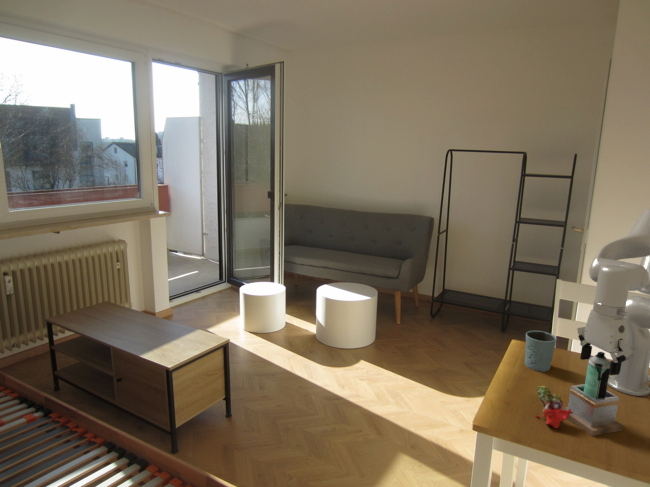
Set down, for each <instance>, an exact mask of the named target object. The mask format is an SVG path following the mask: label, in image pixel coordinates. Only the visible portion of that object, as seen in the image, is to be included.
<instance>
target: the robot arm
mask: <svg viewBox="0 0 650 487" xmlns="http://www.w3.org/2000/svg"><path fill="white" fill-rule="evenodd" d="M635 258H636V259H637V258H639V259H640V258H641V261H640V264H638V263H632V262H626V261H623V260H627V259H635ZM588 273H589V274H588V275H589V279H590V280H591V281H593V282H594V283H596V288H595V294H594V300H593V306H592V307H593V308H592V309H591V310H590V313H589V315H588V317H587V321H586V324H585V326H583V327H582V326H581V327H578V328H576V330H577V335H578V336H577V337H578V339H579V341H580V344H579V346H580V347H581V351H580V352H581V353H580V357H579V359H580V360H582V361H585V360H586V361H587V360H590V359H589V358H590V357H592V350H593V347H596V348H598V349H599V350H602V351H603V352H607V353H609V355H610V357H611V359H612V360H611V361H610V362H611V363H610V368H609V379H608V385H607V386H609V387H610V388H612V389H614V390H616V391H618V392H620V393H623V394H627V395H631V396H637V397H645V396H648V395H650V386H649V385H648V383H649V382H650V374H649V369H650V298H649V297H645V296H639V295H638V296H637V295H631V296H628V295H629V292H630V291H631V292H635V291H638V292H639V293H640V294H645V295H649V296H650V208H647V209H646V210H644V211H643V212H642V213H641V214H640V215H639V217H638V219H636V222H635V223H634V225H633V227H632V228H631V230H630V232H629V233H628V234H627V236H623V237H620V238H618V239H615V240H613V241H610V242H609V243H606V244H605V245H603V246H602V247H601V248H600V249H599V250H598V252H597V253H596V255H595V257H594V258H593V259H592V261H591V263H590V266H589V269H588Z"/></svg>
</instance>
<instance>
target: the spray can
mask: <svg viewBox="0 0 650 487" xmlns="http://www.w3.org/2000/svg"><path fill="white" fill-rule="evenodd" d="M605 355H606V353H605V351H598V352H597V354H595V355H594V356H591V357H590V358H589V359H588V363H587V368H586V369H587V370H586V374H585V381H584V384H585V386H584V392H585V393H586V394H588V395H589V396H591V397H593V398H594V399H600V398H605V396H606V390H607V389H608V386H609V385H608V379H609V376H610V375H609V368H610V363H611V361H610V360H609V359H608V358H607V357H606V356H605ZM607 391H608V390H607Z"/></svg>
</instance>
